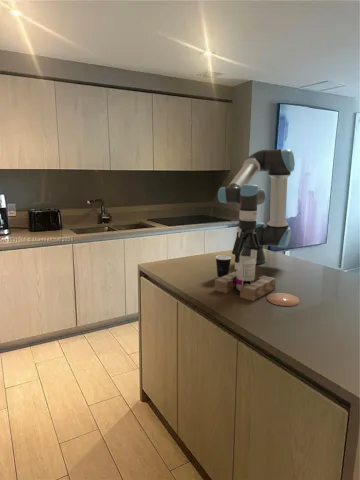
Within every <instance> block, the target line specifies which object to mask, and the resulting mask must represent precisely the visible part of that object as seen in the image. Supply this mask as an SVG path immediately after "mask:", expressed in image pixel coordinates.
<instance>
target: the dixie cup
mask: <svg viewBox="0 0 360 480" xmlns="http://www.w3.org/2000/svg"><path fill="white" fill-rule="evenodd" d="M214 258H215V261H216V262H215V263H216V275H217V279H218V278H220V277H223V276H225V275H227V274H230V268H231V259H232V256H229V255H224V254H222V255H220V254H219V255H216V256H215V257H214Z"/></svg>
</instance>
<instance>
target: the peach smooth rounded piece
mask: <svg viewBox="0 0 360 480" xmlns="http://www.w3.org/2000/svg"><path fill="white" fill-rule="evenodd" d="M266 298H267V301H268V302H269V303H271V304H274V305H276V306H281V307H294V306H297V305H299V304H300V299H299V297H297V296H295V295H294V294H290V293H285V292H273V293H270V294H268V295H267V297H266Z"/></svg>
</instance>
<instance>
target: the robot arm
mask: <svg viewBox="0 0 360 480" xmlns="http://www.w3.org/2000/svg"><path fill="white" fill-rule="evenodd" d="M295 164H296V163H295V157H294V152H293V151H292V150H291V149H288V148H287V149H286V148H277V149H275V148H274V149H261V150H257V151H256V152H253V153H252V154H251V155H249V156H248V157H247V158H245V160H244V162H243V164H242V167H241V169H240V170H239V171H238V172H237V174H236V175H235V176H234V177H233V179H232V180H231V182H230V183H229V184H228V186H227V187H226V186H222V187H220V188H219V189H218V191H217V200H218V201H219V202H220V203H221V204H222V203H223V204H233V205H234V204H237V205H239V216H238V217H239V221H238V228H239V230H241V231H240V232H239V231H237V232H236V237H235V240H234V245H233V247H232V251H231V254H232V255H233V256H234V270H236V271H237V270H241V256H250V257H253V258H254V260H255V265H262V264H266V259H267V258H266V255H265V251H264V246H265V247H267V246H268V247H274V248H275V247H276V248H286V247H287V246H288V245H289V243H290V240H291V236H292V227H290V226H289V223H288V222H287V221H286V220H287V196H288V178H289V177H291V173H292V172H294V171H295ZM260 172H268V173H267V174H268V177H270V200H269V201H270V202H269V206H270V207H269V208H270V209H269V221H267V223H266V225H265V222H261V221H259V222H258V221H256V220H257V219H258V218H257V217H258V205H262V204H264V203H265V202H266V200H267V198H268V195H267V192H266V190H265V189H263V188H260V187H259V186H258V185H257V184H249V183H250V182H251V180H252V179H253V178H254V177H255V175H257V174H258V173H260Z"/></svg>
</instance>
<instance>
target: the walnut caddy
mask: <svg viewBox="0 0 360 480" xmlns="http://www.w3.org/2000/svg"><path fill="white" fill-rule="evenodd" d="M236 276H237V270H235V271H232V272H229V274H227V275H225V276H223V277H220V278H218V277H217V278H216V279H214V291H217V292H219V293H224V294H228V293H230V292H232V291H233V289H234V288H236ZM274 290H276V278H275V277H271V276H267V275H261V276H259V277H257V280H256V281H255V282H254V283H252V284H244V285H242V286H241V288H240V291H239V292H240V293H239V297H240V298H242V299H246V300H249V301H253V302H254V301H256V300H258V299H259V298H261V297H264V296H265V295H266V294H268V293H271V291H274Z"/></svg>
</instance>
